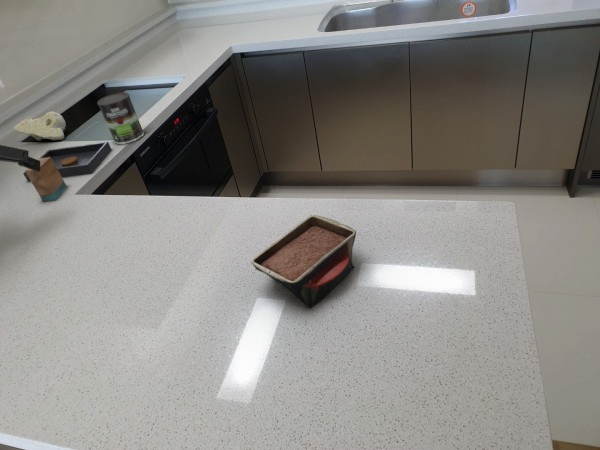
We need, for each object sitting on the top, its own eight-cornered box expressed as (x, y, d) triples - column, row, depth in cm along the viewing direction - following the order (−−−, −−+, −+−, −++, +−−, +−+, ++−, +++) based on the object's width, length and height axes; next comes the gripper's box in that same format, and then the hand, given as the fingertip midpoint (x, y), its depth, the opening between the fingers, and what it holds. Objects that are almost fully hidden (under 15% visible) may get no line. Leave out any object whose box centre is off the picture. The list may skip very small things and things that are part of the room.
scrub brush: (42, 201, 129) (24, 171, 124) (54, 188, 135) (37, 158, 129) (55, 200, 129) (38, 169, 123) (67, 187, 135) (50, 156, 129)
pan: (27, 181, 142) (22, 173, 141) (52, 157, 155) (48, 149, 153) (91, 173, 139) (87, 164, 137) (111, 149, 152) (108, 141, 150)
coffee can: (144, 139, 154) (128, 98, 146) (113, 147, 153) (95, 107, 145) (144, 128, 163) (129, 89, 154) (115, 136, 161) (98, 97, 153)
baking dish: (257, 287, 89) (240, 254, 82) (322, 231, 95) (312, 196, 88) (307, 329, 79) (293, 295, 73) (375, 264, 86) (368, 227, 79)
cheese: (80, 135, 173) (54, 108, 175) (72, 127, 166) (45, 99, 168) (47, 162, 170) (21, 134, 172) (38, 155, 163) (10, 126, 164)
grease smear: (59, 167, 145) (57, 165, 144) (66, 160, 149) (65, 157, 148) (73, 165, 144) (72, 163, 144) (80, 158, 148) (79, 155, 148)
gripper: (-114, 167, 98) (-29, 189, 119) (-11, 152, 94) (59, 178, 115) (-112, 133, 99) (-28, 161, 120) (-10, 118, 96) (59, 149, 116)
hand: (15, 169), depth 118 cm, fingers open, 13 cm apart
